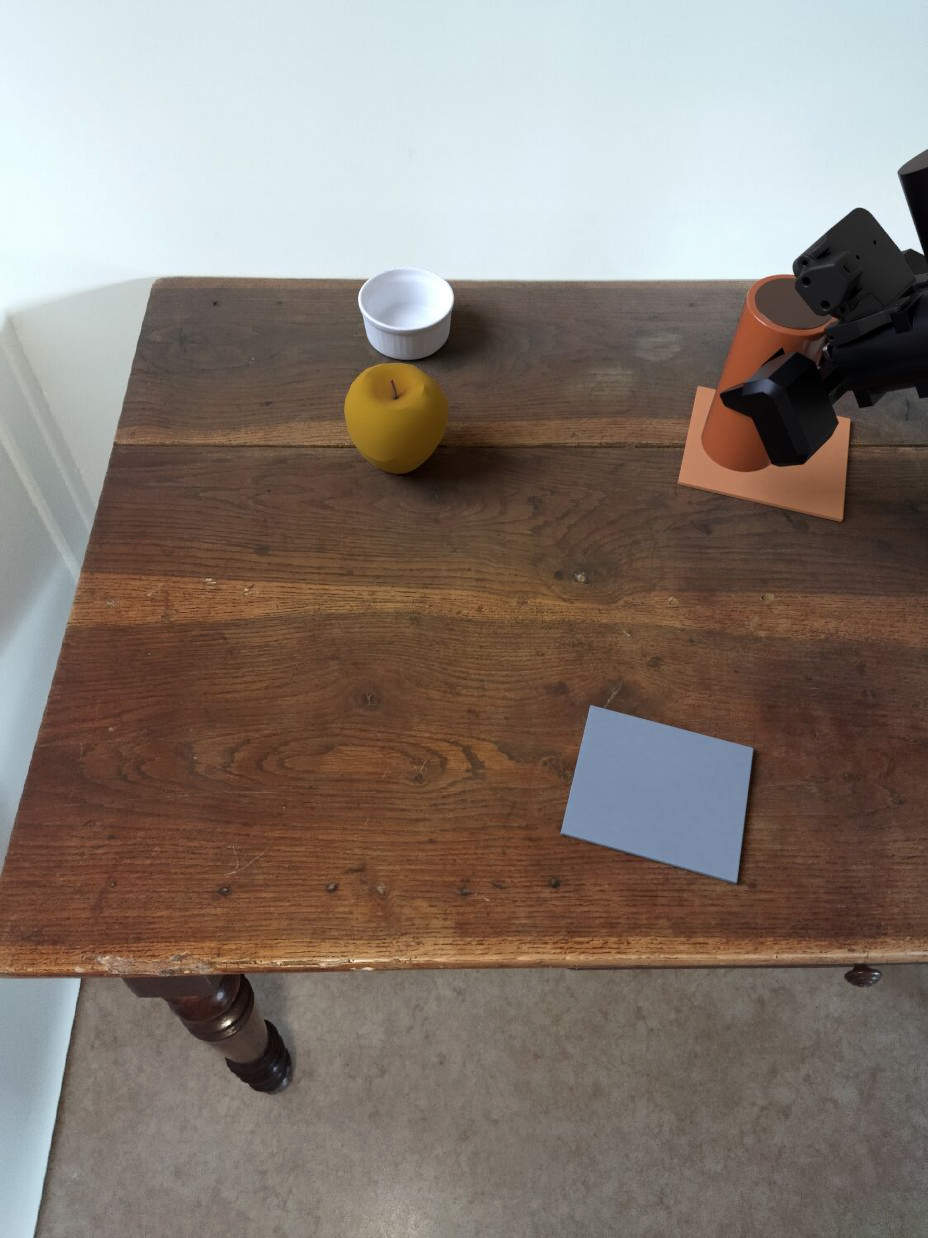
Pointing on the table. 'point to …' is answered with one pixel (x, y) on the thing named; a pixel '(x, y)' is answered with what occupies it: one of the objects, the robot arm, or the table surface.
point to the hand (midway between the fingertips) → (748, 376)
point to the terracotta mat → (771, 472)
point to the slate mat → (660, 793)
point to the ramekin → (406, 312)
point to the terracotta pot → (760, 333)
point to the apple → (396, 416)
